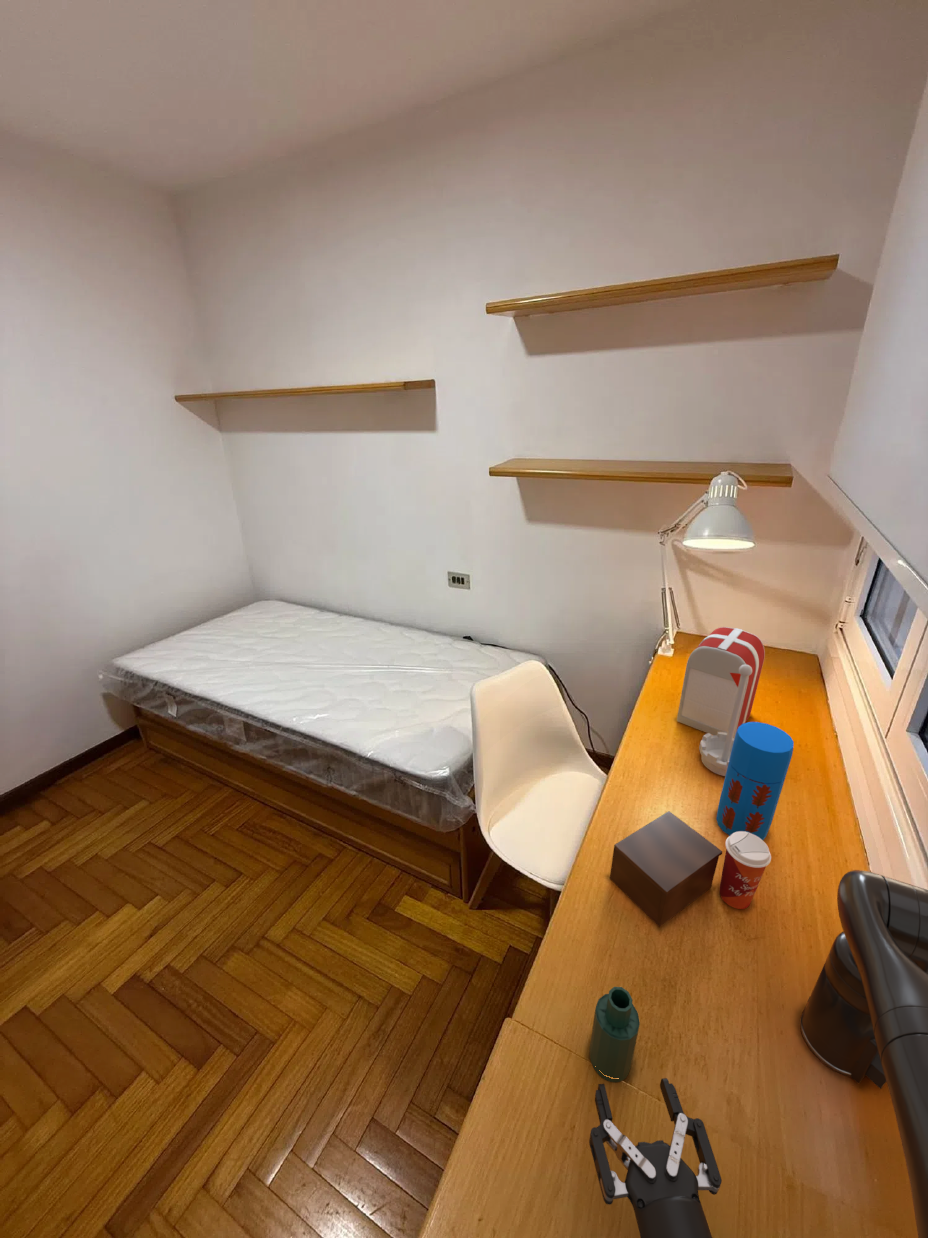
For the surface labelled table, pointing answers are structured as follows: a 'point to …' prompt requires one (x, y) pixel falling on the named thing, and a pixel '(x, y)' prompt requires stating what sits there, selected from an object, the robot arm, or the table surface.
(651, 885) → the chest
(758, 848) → the paper cup
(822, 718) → the table surface
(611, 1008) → the bottle
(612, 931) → the table surface
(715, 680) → the toy mailbox
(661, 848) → the lid
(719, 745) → the flag stand
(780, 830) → the table surface
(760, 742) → the thermos
